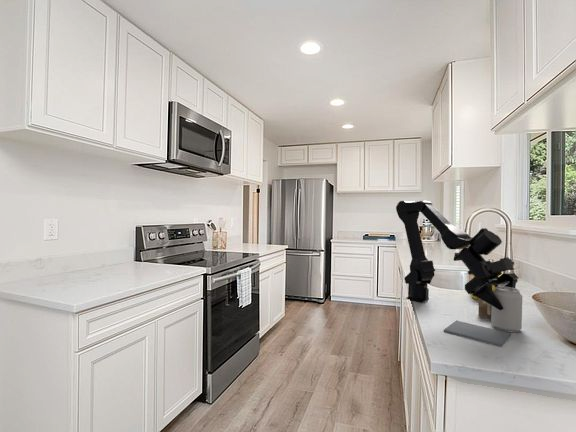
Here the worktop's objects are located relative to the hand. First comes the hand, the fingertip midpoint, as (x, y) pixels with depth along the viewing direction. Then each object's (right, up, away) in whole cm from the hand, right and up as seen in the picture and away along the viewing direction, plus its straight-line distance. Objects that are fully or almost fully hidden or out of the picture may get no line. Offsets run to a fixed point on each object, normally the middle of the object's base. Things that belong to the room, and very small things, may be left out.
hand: (511, 307), depth 94 cm
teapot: (+16, -6, +37) cm, 41 cm away
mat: (-12, -6, -3) cm, 14 cm away
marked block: (+2, -6, +13) cm, 14 cm away
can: (-1, -7, +1) cm, 7 cm away
